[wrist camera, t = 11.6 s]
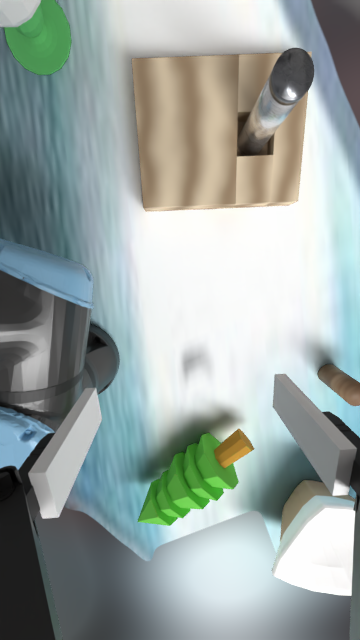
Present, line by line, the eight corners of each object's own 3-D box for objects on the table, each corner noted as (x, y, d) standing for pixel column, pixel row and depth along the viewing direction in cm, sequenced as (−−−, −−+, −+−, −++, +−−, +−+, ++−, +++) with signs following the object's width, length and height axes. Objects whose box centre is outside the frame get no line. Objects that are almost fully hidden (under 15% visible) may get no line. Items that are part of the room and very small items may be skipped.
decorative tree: (269, 482, 38) (143, 573, 41) (260, 447, 49) (161, 521, 53) (224, 426, 40) (107, 518, 43) (225, 405, 51) (132, 480, 55)
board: (145, 211, 37) (143, 207, 34) (135, 76, 32) (131, 58, 29) (288, 205, 37) (298, 201, 34) (299, 70, 32) (311, 51, 30)
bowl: (248, 523, 57) (263, 580, 47) (294, 451, 51) (323, 498, 41) (326, 543, 60) (357, 602, 50) (379, 477, 54) (426, 528, 44)
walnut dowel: (316, 381, 47) (344, 406, 39) (319, 364, 45) (348, 386, 38) (335, 381, 47) (367, 405, 39) (338, 363, 46) (371, 385, 38)
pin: (236, 158, 35) (270, 101, 22) (237, 127, 34) (273, 48, 21) (262, 157, 35) (311, 99, 22) (264, 125, 34) (316, 46, 21)
